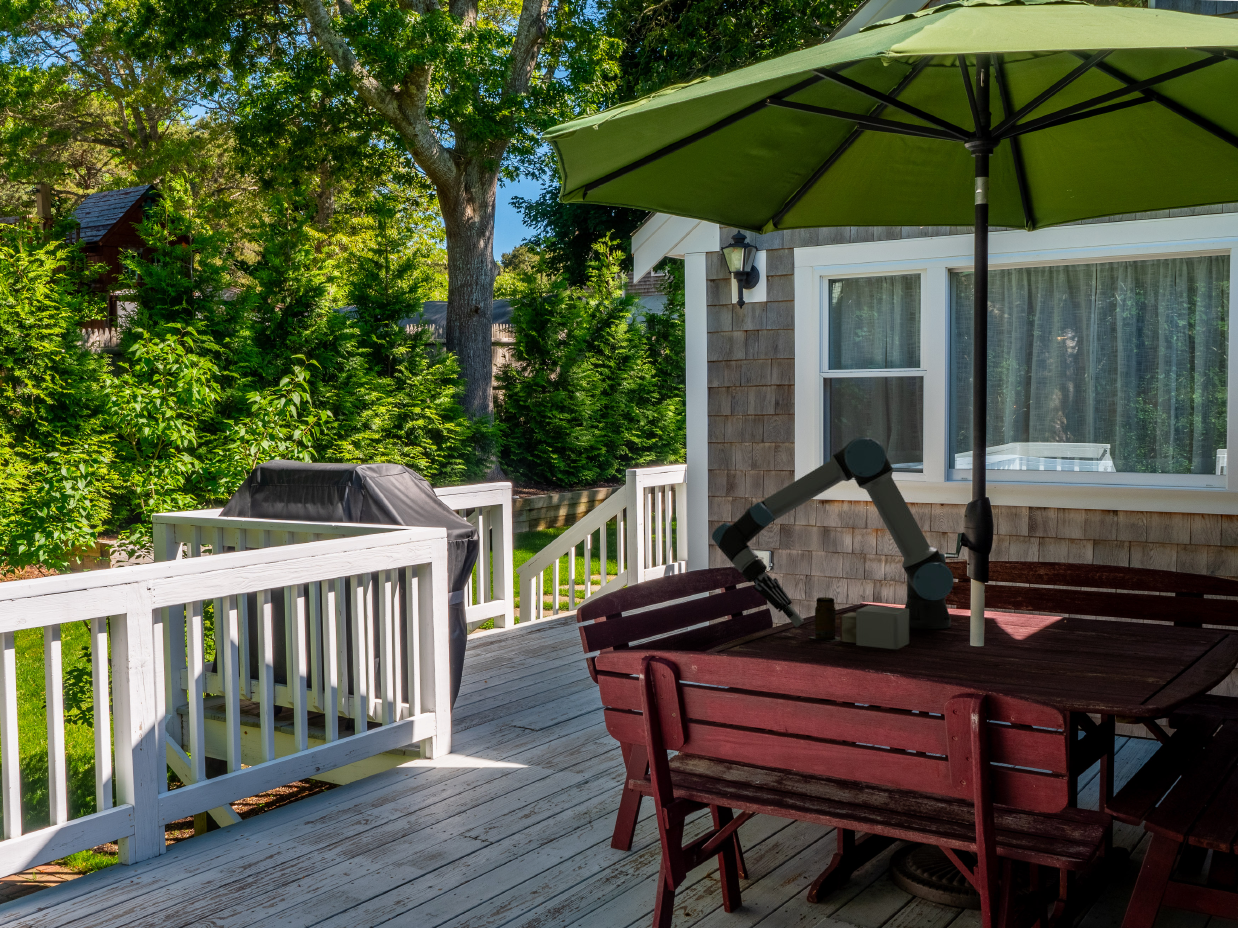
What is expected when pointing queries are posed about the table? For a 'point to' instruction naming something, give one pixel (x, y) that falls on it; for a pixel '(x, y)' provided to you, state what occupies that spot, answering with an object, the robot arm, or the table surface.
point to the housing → (882, 627)
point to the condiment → (825, 620)
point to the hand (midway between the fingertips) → (800, 623)
